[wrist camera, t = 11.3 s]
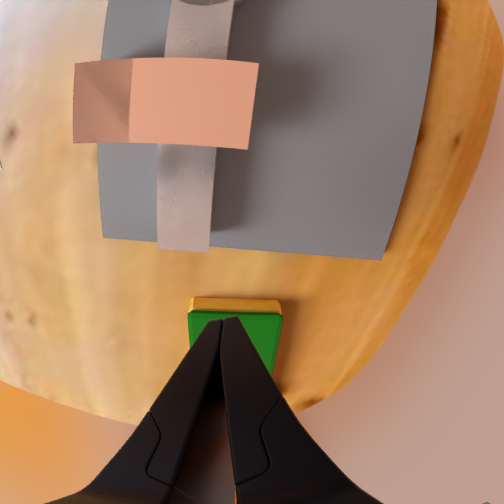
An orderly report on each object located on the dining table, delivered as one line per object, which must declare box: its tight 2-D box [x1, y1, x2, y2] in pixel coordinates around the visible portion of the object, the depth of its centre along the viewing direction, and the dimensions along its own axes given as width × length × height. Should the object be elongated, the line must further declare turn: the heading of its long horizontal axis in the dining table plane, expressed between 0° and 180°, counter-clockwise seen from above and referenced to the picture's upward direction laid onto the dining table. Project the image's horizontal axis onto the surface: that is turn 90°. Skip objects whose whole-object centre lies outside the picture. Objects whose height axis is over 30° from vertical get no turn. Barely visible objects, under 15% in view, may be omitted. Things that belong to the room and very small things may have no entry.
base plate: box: [97, 0, 437, 260], centre depth 16 cm, size 21×20×1 cm
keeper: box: [73, 58, 259, 150], centre depth 14 cm, size 4×8×4 cm, turn 83°
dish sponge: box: [188, 297, 283, 376], centre depth 27 cm, size 7×14×2 cm, turn 175°
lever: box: [157, 0, 246, 253], centre depth 14 cm, size 18×5×3 cm, turn 173°
